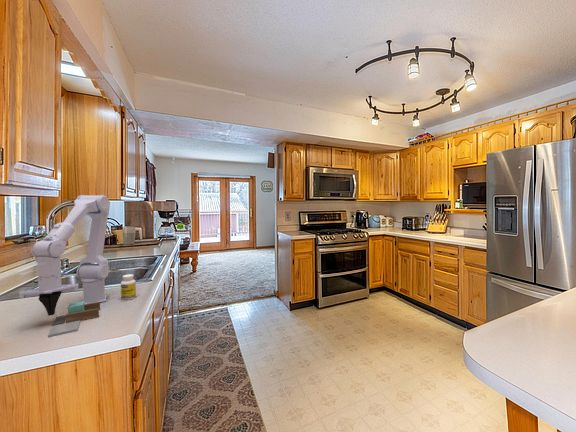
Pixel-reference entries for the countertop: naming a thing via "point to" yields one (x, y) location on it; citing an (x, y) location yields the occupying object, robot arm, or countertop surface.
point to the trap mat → (59, 320)
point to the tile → (64, 328)
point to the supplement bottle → (128, 287)
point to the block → (76, 307)
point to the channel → (84, 313)
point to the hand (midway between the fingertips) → (51, 314)
